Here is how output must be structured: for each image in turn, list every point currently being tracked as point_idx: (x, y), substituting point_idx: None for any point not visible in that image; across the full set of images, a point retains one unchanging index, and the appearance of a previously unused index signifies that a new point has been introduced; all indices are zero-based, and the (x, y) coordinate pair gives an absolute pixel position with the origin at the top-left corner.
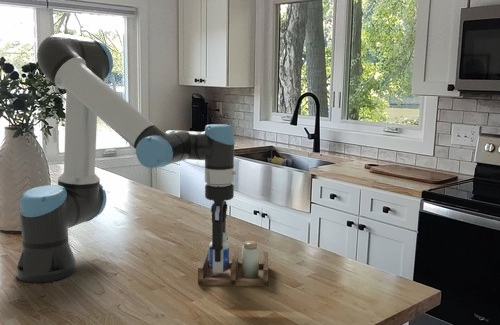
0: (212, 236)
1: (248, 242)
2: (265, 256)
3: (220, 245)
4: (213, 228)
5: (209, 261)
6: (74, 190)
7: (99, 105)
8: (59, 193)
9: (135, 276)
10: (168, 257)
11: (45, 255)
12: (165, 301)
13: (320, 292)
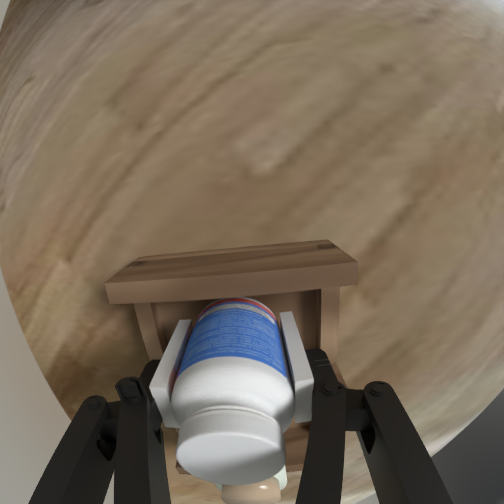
0: (58, 448)
1: (256, 495)
2: (294, 467)
3: (97, 442)
4: (42, 489)
5: (210, 317)
6: None
7: None
8: None
9: (215, 11)
10: (417, 82)
11: None
12: (47, 182)
13: (212, 487)
